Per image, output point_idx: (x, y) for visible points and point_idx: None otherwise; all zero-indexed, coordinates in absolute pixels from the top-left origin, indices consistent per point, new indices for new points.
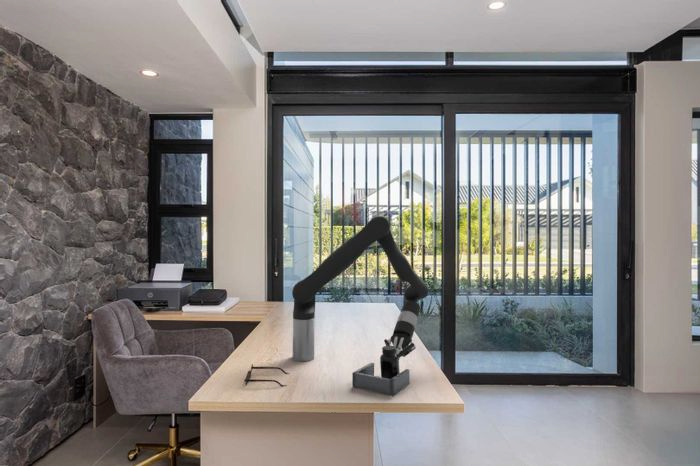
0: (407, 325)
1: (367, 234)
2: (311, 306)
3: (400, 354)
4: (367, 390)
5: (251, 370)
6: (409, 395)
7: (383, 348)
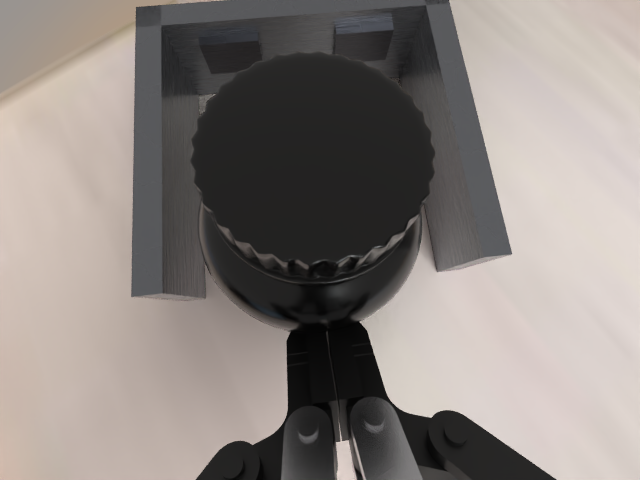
0: None
1: None
2: None
3: (268, 437)
4: None
5: None
6: (106, 137)
7: (367, 69)
